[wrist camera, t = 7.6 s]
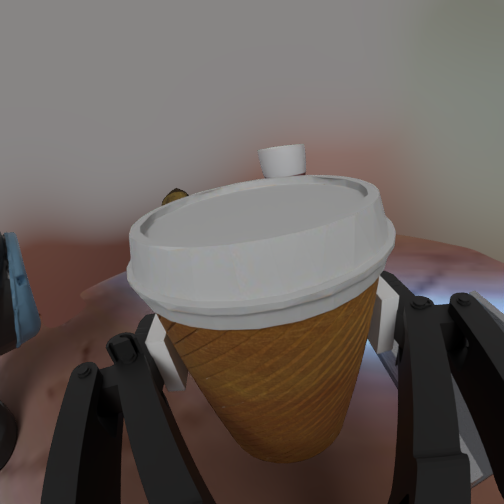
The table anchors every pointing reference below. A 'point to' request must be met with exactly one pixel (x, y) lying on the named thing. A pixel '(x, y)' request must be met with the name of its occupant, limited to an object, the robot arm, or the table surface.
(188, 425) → the table surface
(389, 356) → the tray
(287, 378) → the disposable coffee cup
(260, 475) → the table surface
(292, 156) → the wineglass
